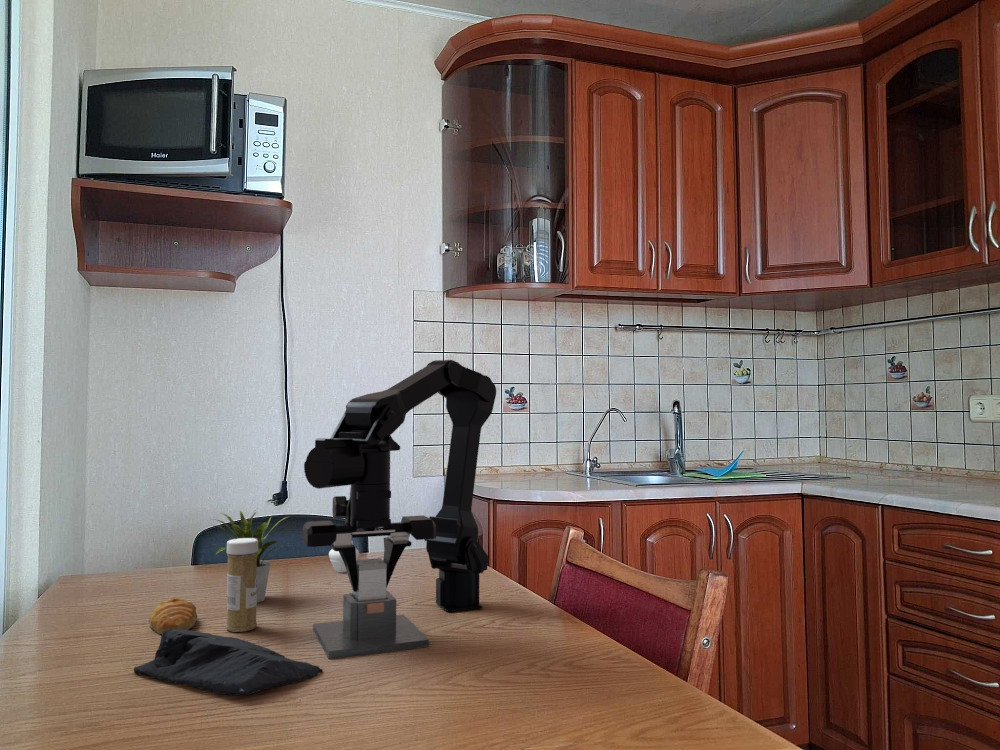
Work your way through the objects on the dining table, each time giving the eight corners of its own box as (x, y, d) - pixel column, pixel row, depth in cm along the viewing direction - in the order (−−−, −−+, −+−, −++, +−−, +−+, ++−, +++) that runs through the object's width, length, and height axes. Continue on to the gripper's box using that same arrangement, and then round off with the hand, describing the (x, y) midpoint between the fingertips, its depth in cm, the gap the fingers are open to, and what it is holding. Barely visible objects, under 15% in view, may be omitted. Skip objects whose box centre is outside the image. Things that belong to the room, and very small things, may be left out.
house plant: (179, 605, 129) (181, 508, 130) (236, 587, 142) (237, 499, 142) (246, 614, 124) (248, 513, 124) (299, 594, 136) (300, 503, 137)
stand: (403, 620, 120) (403, 582, 120) (429, 646, 107) (429, 603, 107) (313, 630, 115) (313, 590, 115) (328, 659, 102) (329, 613, 102)
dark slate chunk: (228, 715, 84) (229, 671, 85) (124, 674, 97) (125, 636, 97) (333, 676, 97) (333, 638, 97) (228, 644, 110) (229, 611, 110)
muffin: (355, 574, 153) (356, 539, 153) (325, 574, 153) (325, 539, 154) (361, 568, 159) (362, 534, 160) (332, 567, 159) (332, 534, 160)
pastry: (200, 634, 114) (200, 608, 114) (151, 640, 111) (151, 614, 111) (194, 618, 122) (194, 594, 122) (148, 624, 119) (148, 599, 119)
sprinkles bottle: (260, 629, 115) (262, 540, 116) (229, 634, 112) (231, 543, 113) (252, 622, 119) (253, 536, 119) (222, 627, 116) (223, 538, 117)
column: (379, 625, 114) (380, 558, 114) (385, 633, 110) (386, 563, 110) (352, 628, 112) (353, 560, 112) (358, 636, 108) (358, 565, 109)
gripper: (416, 476, 123) (416, 573, 122) (298, 479, 116) (296, 583, 115) (437, 482, 113) (436, 588, 112) (308, 487, 105) (307, 600, 105)
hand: (369, 589), depth 111 cm, fingers closed on column, 4 cm apart
